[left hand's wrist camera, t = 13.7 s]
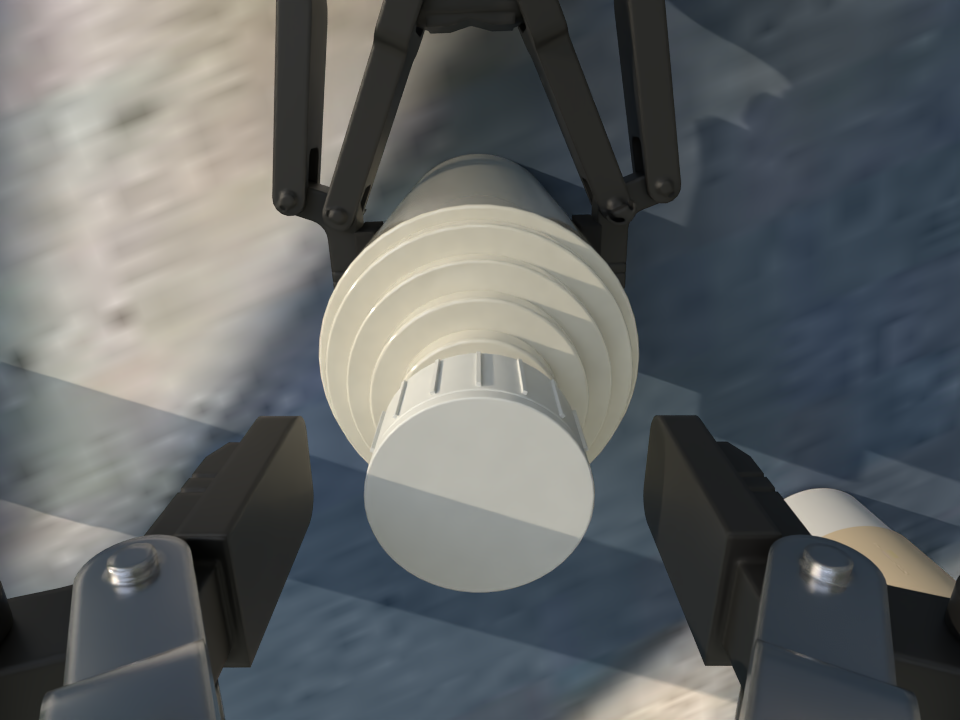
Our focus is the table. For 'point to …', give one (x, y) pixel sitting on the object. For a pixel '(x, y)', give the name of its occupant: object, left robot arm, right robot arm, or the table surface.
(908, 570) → the coffee cup
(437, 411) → the cap
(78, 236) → the table surface
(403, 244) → the bottle
